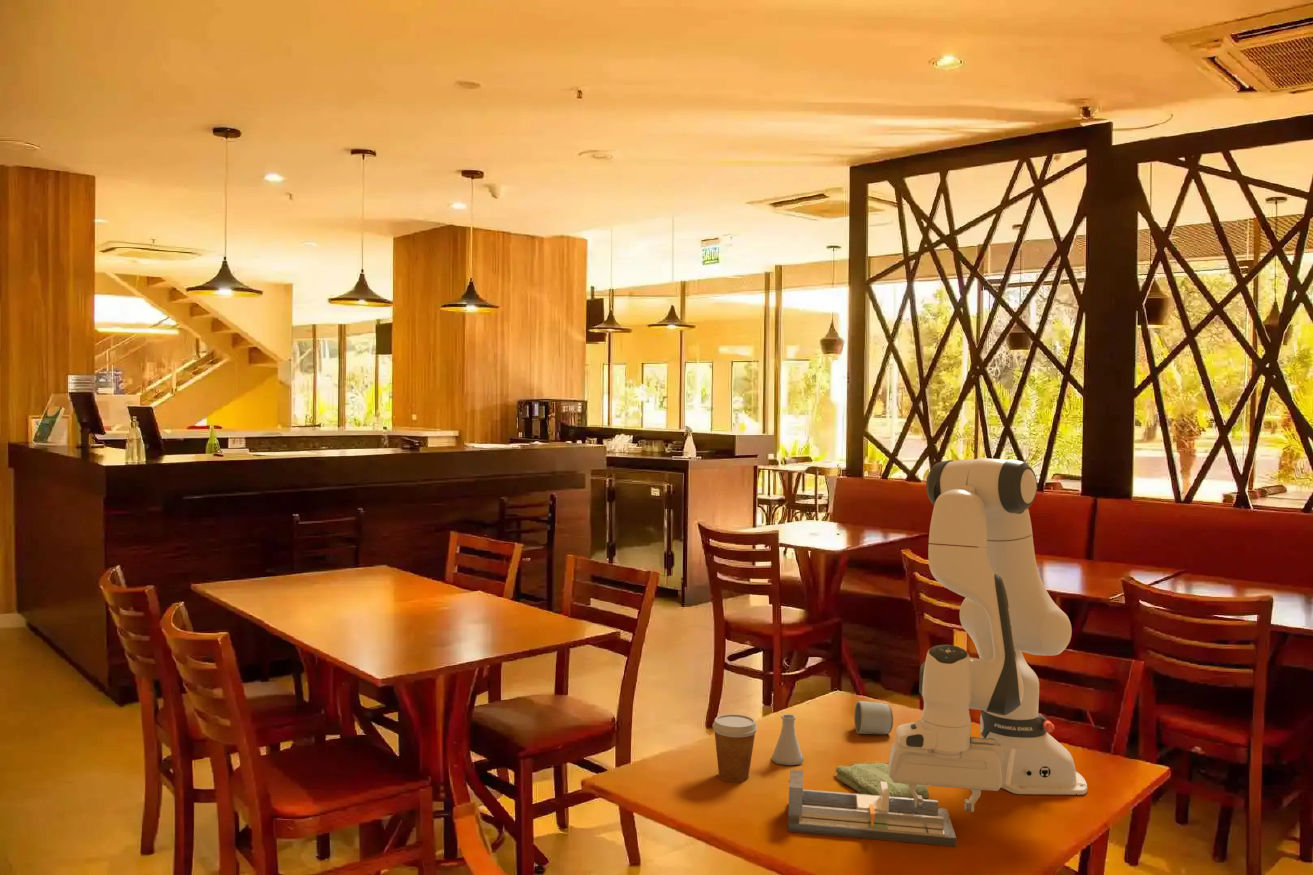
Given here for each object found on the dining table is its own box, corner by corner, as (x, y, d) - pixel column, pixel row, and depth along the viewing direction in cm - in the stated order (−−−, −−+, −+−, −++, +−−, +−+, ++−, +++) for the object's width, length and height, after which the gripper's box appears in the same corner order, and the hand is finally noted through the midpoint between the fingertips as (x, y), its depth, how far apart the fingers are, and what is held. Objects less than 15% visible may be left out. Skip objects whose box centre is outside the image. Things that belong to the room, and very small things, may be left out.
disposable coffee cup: (753, 768, 208) (754, 713, 208) (759, 785, 198) (760, 727, 198) (709, 767, 208) (710, 712, 207) (713, 785, 198) (714, 727, 198)
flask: (805, 766, 209) (807, 721, 209) (772, 766, 210) (773, 720, 209) (801, 755, 217) (802, 711, 216) (769, 754, 217) (770, 710, 217)
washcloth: (882, 770, 210) (882, 755, 210) (933, 801, 193) (934, 785, 193) (830, 777, 205) (830, 762, 205) (878, 810, 189) (879, 793, 188)
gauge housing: (946, 816, 185) (947, 777, 185) (956, 846, 172) (957, 805, 172) (789, 802, 190) (790, 765, 190) (787, 831, 177) (788, 791, 177)
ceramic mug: (894, 738, 229) (895, 706, 229) (860, 738, 229) (861, 705, 229) (882, 724, 240) (883, 694, 240) (849, 724, 239) (850, 693, 239)
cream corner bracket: (885, 809, 183) (886, 781, 183) (889, 831, 174) (890, 801, 174) (856, 806, 184) (856, 778, 184) (858, 828, 175) (859, 799, 175)
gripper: (1000, 733, 180) (998, 806, 180) (888, 725, 183) (886, 797, 183) (1007, 745, 174) (1005, 820, 174) (891, 736, 177) (889, 810, 177)
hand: (943, 808), depth 179 cm, fingers open, 8 cm apart
